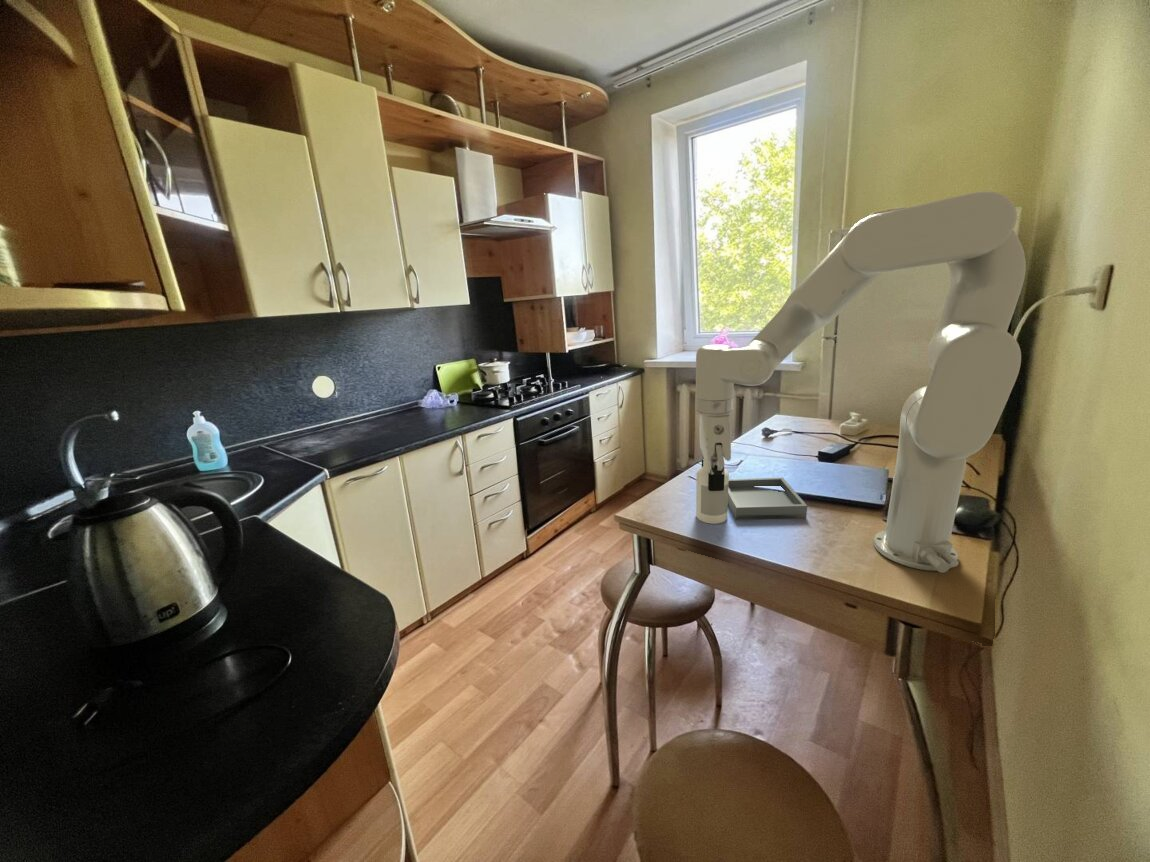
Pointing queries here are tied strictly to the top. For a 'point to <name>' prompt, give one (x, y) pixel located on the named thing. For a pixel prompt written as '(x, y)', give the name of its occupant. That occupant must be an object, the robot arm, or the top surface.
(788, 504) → the tray
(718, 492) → the spray bottle
